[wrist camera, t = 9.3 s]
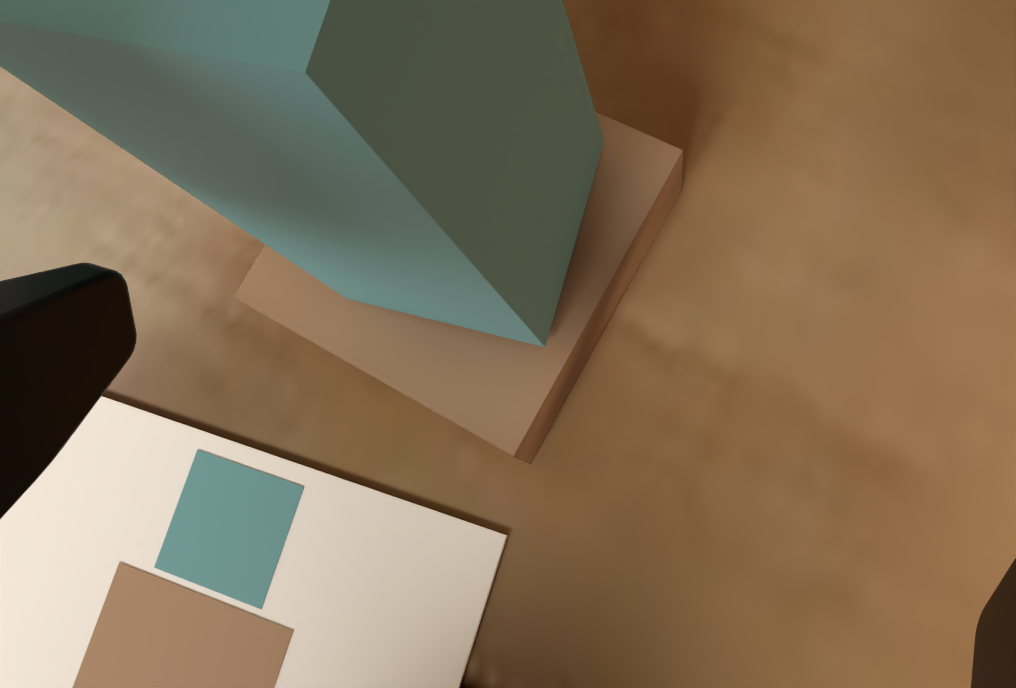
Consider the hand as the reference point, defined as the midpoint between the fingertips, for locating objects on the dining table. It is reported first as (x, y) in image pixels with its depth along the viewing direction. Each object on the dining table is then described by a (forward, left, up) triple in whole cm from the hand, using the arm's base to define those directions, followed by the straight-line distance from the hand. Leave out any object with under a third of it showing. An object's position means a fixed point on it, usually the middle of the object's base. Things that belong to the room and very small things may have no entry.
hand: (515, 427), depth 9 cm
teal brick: (+4, +5, -11) cm, 13 cm away
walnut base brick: (+4, +6, -14) cm, 16 cm away
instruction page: (-8, +8, -14) cm, 18 cm away
